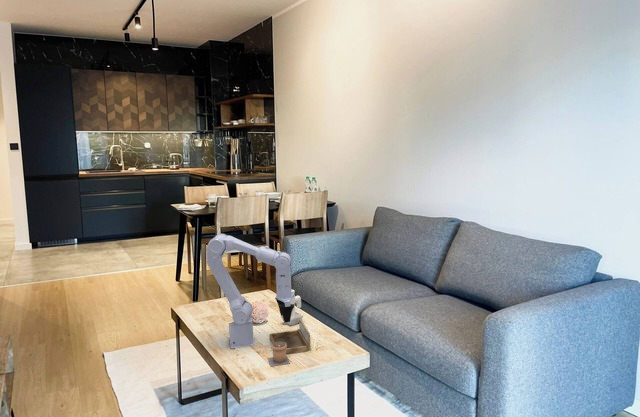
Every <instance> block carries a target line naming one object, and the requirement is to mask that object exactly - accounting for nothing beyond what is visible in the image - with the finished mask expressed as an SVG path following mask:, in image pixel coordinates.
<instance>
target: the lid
mask: <svg viewBox="0 0 640 417" xmlns="http://www.w3.org/2000/svg"><path fill="white" fill-rule="evenodd" d="M298 326H299V328H298V329H299V330H300V331H301V333H302V335H303V336H304V338H305V340H306V342H307V343H308V351H307V352H309V351H310V346H311V335H310V334H311V333H310V331H309V329H308V328H307V326H306V325H305V322H304V321H303V319H302V320H301V318H299V324H298Z"/></svg>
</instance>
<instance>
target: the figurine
mask: <svg viewBox="0 0 640 417" xmlns="http://www.w3.org/2000/svg"><path fill="white" fill-rule="evenodd" d="M291 291H292V294H294V295H295V290H294V289H292V288H291ZM290 304H294V308H293V310H292V313H291V319H290V322H287V323H284V324H285V325H288V326H294V325H299V318H301V320H302V321H303V318H304V314H301V313H299V312H296V308H298V309H301V308H302V298H301V296H300V295H295V297H292V299H291V301H290ZM295 304H296V305H295ZM280 318H281V319H282V322H284V320H283V316H281V314H280Z"/></svg>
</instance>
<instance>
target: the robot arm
mask: <svg viewBox="0 0 640 417" xmlns="http://www.w3.org/2000/svg"><path fill="white" fill-rule="evenodd" d="M205 249H206V264H207V266H208V268H209V270H210V272H211V273H212V275H213V276H214V279H215V280H216V281H217V283H218V285H219V287H220V289H221V291H222V292H223V294H224V296H225V297H226V299H227V301H228V302H229V309H230V312H231V314H232V322H230V323H228V336H229V337H228V342H229V346H230V349H231V350H232V349H236V348H242V347H243V348H244V347H250V346H256V345H257V343H256V341H255V337H254V326H253V325H254V324H253V318H252V313H253V310H254V307H253V305H252V303H251V302H249V301H247V299H246V297H244V296H243V295H242V294H241V292H240V291H239V289H238V287H237V286H236V284H235V282H234V280H233V278H232V277H231V275H230V273H229V272H228V269H227V267H225V264H224V263H223V260H222V259H223V257H224V254H225V252H231V251H235V250H236V251H239V252H241V253H245V254H248V255H251V256H254V258H256V260H257V261H258V262H261V263H263V264H267V265H268V266H269V265H270V266H273V267H274V268H275V285H276V289H275V290H276V297H275V298H274V300H275V301H276V303H277V306H278V309H279V314H280V315H281V316H283V319H282V321H283V320H284V321H283V323H284V324H285V323H287V322H290V319H291V313H292V310H293V308H294V304H290V301H291V299H292V297H295V296H296V295H295V294H292V291H291V289H292V272H291V263H292V262H291V261H292V258H291V255H290V254H289V253H287V252H286V251H280V250H275V249H272V248H270V246H268V245H264V246H262V245H261V246H260V247H257V246H255V245H252V244H250V243H248V242H245V241H243V240H241V239H239V238H236V237H234V236H232V235H229V234H228V235H227V234H225V233H218V234H216V235H215V236H214V237H213V238H211V239H210V240H209V242H208V244H207V246H206V248H205ZM281 316H280V317H281Z"/></svg>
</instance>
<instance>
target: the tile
mask: <svg viewBox="0 0 640 417" xmlns="http://www.w3.org/2000/svg"><path fill="white" fill-rule="evenodd" d="M267 360H268V363H269V366H270V367H278V366H286V365H291V362H290V359H289V357H288V354H287V355H286V361H285V362H282V363H276V362H274V361H273V356H272V357H267Z"/></svg>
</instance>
